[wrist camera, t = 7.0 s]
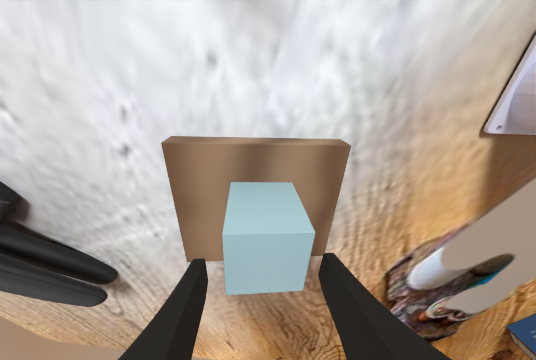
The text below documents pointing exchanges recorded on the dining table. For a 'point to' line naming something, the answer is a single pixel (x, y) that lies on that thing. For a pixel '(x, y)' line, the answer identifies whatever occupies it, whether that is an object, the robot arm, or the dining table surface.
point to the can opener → (47, 266)
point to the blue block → (265, 239)
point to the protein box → (525, 335)
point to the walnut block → (249, 170)
